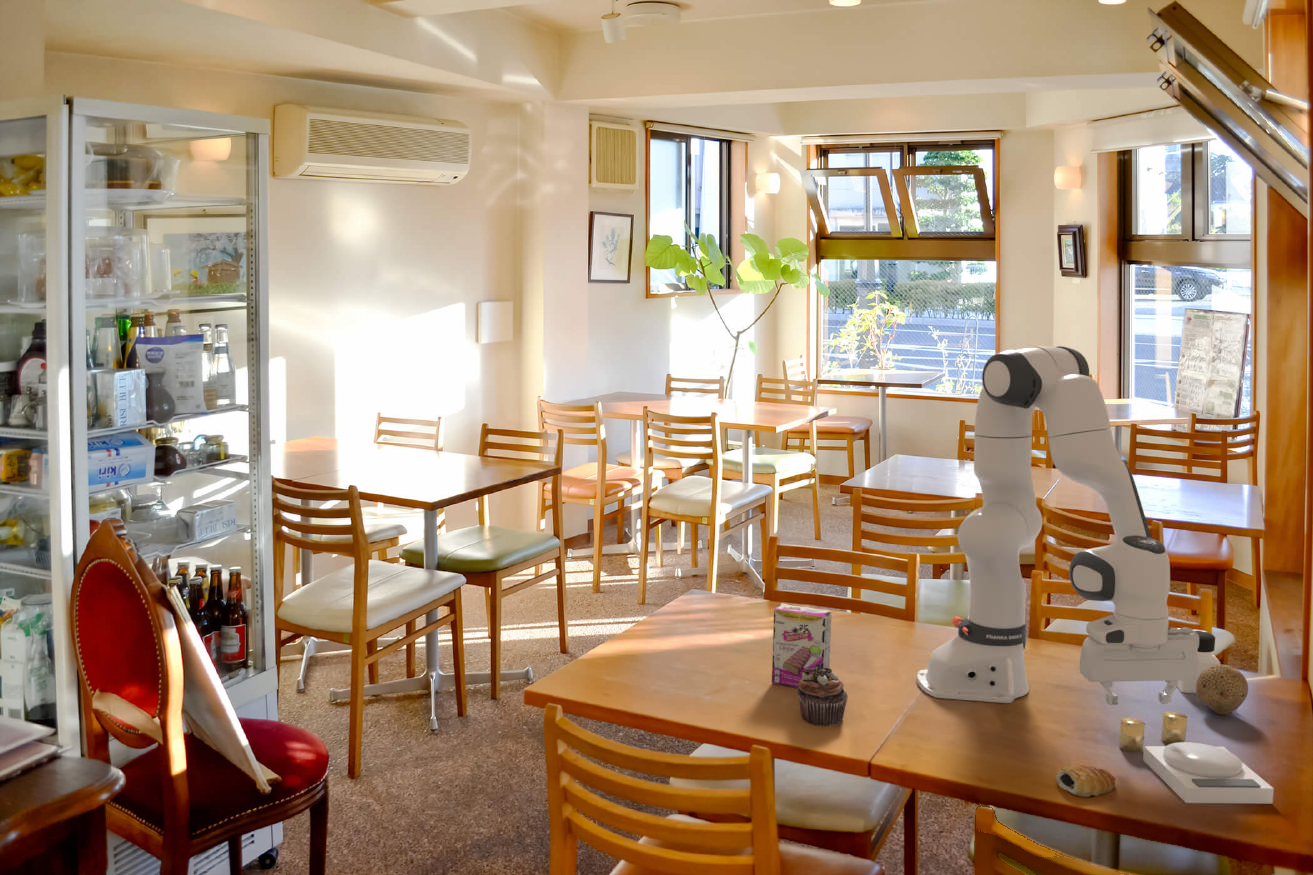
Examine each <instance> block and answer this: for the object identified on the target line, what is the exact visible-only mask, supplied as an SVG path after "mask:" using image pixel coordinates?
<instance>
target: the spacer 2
mask: <svg viewBox="0 0 1313 875" xmlns="http://www.w3.org/2000/svg"><path fill="white" fill-rule="evenodd" d="M1187 721H1188V716H1187V715H1185V714H1183V713H1180V712H1176V711H1164V712H1163V713H1162V721H1161V722H1162V724H1161V725H1162V726H1161V735H1160V736H1161V737H1160V739H1161V740H1160V741H1161V742H1162V743H1163V744H1165V745H1166V746H1167V745H1169V744H1173V743H1179V742H1186V738H1187V737H1186V735H1187V726H1188V725H1187V724H1188V723H1187Z"/></svg>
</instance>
